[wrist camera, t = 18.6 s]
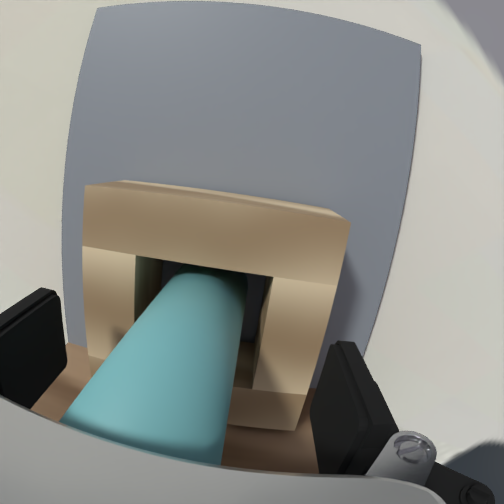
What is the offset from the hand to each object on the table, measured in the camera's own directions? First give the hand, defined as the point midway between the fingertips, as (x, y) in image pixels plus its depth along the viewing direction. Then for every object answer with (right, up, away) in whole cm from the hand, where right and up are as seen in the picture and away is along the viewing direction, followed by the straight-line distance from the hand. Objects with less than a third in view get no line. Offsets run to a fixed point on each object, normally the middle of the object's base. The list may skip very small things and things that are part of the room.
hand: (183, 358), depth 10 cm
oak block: (0, +2, +7) cm, 7 cm away
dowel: (0, +2, +7) cm, 7 cm away
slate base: (+1, +5, +6) cm, 8 cm away
